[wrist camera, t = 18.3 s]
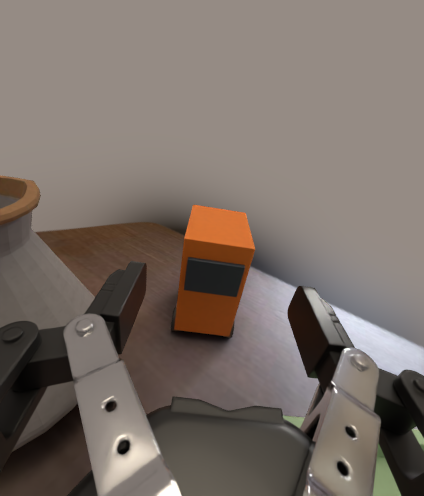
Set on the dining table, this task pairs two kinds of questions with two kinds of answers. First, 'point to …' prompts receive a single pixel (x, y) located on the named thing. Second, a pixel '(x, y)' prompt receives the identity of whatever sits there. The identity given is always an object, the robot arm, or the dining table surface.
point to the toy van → (213, 271)
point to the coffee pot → (35, 291)
